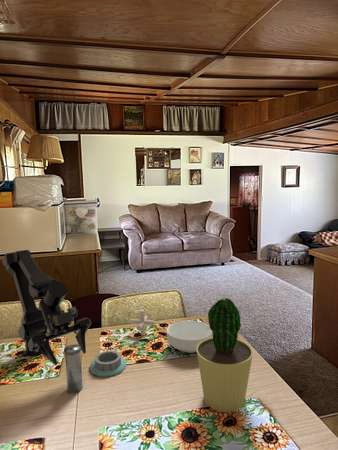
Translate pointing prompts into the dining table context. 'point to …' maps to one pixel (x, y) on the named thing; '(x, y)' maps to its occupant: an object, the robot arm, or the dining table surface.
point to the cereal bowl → (187, 335)
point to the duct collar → (108, 364)
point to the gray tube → (73, 368)
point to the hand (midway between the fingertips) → (71, 358)
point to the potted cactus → (224, 359)
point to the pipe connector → (142, 322)
